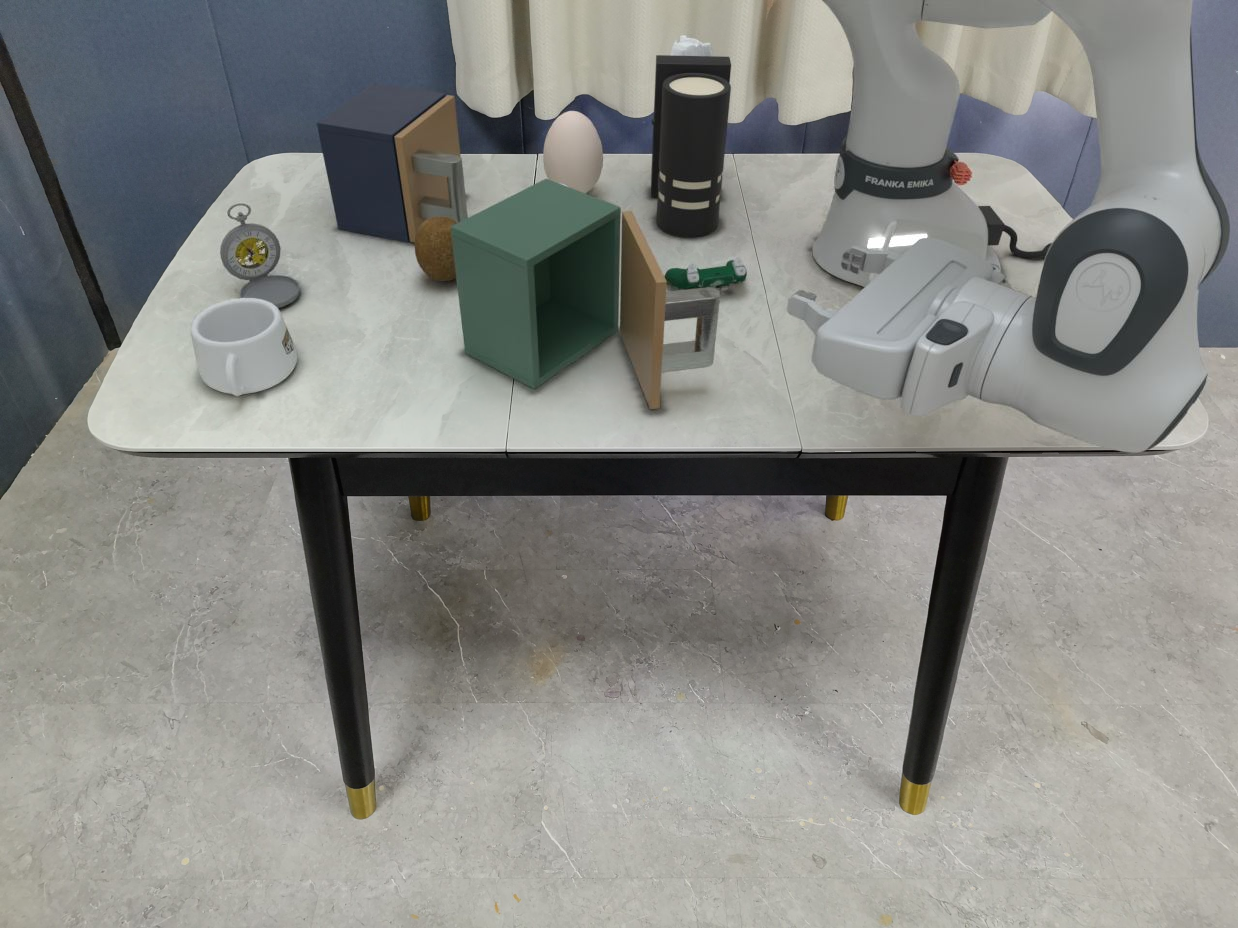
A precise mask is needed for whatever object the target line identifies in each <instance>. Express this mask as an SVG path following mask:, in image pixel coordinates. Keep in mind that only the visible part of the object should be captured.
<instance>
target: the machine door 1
mask: <svg viewBox="0 0 1238 928" xmlns="http://www.w3.org/2000/svg"><path fill="white" fill-rule="evenodd" d="M457 117H458V116H457V107H456V98H455V95H449V94H447V95H446V97H444V98H443V99H442V100H441V101H439V102H438V103H437V104H435V105H434V106H433V107H432V108H430V109H429V110H428V111H427V112H425V113H424V114H423V115H421V116H420V117H419V118H418V119H416V120H415V121H414V122H412V123H411V124H410V125H409V126H407V127H406V128H405V129H404V130H402V131H401V132H400V133H398V134H397V135H396V136H395V137H394V138H395V144H396V151H397V158H398V164H399V171H400V178H401V184H402V191H403V198H404V204H405V211H406V218H407V224H408V231H409V238H410V241H409V242H410V243H414V242H415V235H416V233H417V230H418V229H419V227H420V226H421V224H422V223H423V222H424V221H425V220H427V219H429V218H433V217H440V216H441V217H448V218H451V219H453V220H454V221H455V222H456V223H459V222H461V221H463V220H465V219H467V218H469V217H468V216H469V215H468V206H467V196H466V187H465V176H464V167H463V158H462V157H461V146H460V137H459V128H458V127H459V125H458V118H457Z"/></svg>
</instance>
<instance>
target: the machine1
mask: <svg viewBox="0 0 1238 928" xmlns="http://www.w3.org/2000/svg"><path fill="white" fill-rule="evenodd" d="M446 96H447V95H446V93H444V92H438V91H432V90H425V89H418V88H411V87H404V86H397V85H391V84H383V83H377V82H375V83H373V84H372V85H370V86H369V87H366V89H364V90H362V91H361V92H360V93H358V94H357V95H356V96H354V97H352V98H351V99H350V100H348V101H346V102H345V103H344V104H342V105H341V106H339V107H337V108H336V109H335V110H333V111H332V112H330V113H329V114H327V115H326V116H325V117H323V118H321V119H320V120H319V121H317V122H316V127H317V133H318V138H319V142H320V148H321V151H322V156H323V163H324V165H325V166H324V167H325V172H326V176H327V181H328V186H329V191H330V195H331V200H332V205H333V210H334V215H335V219H336V224H337V229H338V230H341V231H345V232H350V233H351V232H352V233H356V234H360V235H361V234H362V235H368V236H372V237H378V238H383V239H387V240H393V241H398V242H403V243H409V242H410V238H409V231H408V224H407V218H406V211H405V204H404V198H403V191H402V184H401V178H400V171H399V164H398V158H397V151H396V144H395V138H394V137H395V136H396V135H397V134H398V133H400V132H401V131H402V130H404V129H405V128H406V127H407V126H409V125H410V124H411V123H412V122H414V121H415V120H416V119H418V118H419V117H420V116H421V115H423V114H424V113H425V112H427V111H428V110H429V109H430V108H432V107H433V106H434V105H435V104H437V103H438V102H439V101H441V100H442V99H443V98H444V97H446Z"/></svg>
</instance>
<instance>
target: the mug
mask: <svg viewBox="0 0 1238 928" xmlns="http://www.w3.org/2000/svg"><path fill="white" fill-rule="evenodd" d="M189 332H190V336H191V342H192V347H193V350H194V356H195V357H194V358H195V363H196V366H197V371H198V373H199V375H200V377H201V380H202V381H203V382H204V383H205V384H206V385H207V386H208V387H210V388H212V389H213V390H215V391H218V392H220V393H225V394H229V395H233V396H235V397H239V396H241V395H245V394H246V395H247V394H252V393H253V394H254V393H257V392H262V391H265V390H269V389H270V388H272V387H274V386H276V385H278V384H280V383H281V382H283V381H284V380H285V379H287V378H288V377H289V375H291V373H292V372H293V370H294V369H295V367H296V364H297V362H298V354H297V348H296V345H295V343H294V341H293V338H292V336H291V333H290V331H289V329H288V327H287V324H286V321H285V319H284V317H283V314H282V313H281V311H280V309H279V308H277V307H276V306H275V305H274V304H272V303H271V302H268V301H265V300H262V299H256V298H240V297H238V298H231V299H226V300H223V301H219V302H217V303H215V304H212V305H209V306H208V307H206V308H205V309H203V310H201V311H200V312H199V313H197V315H196V316H194V318H193V320H192V322H191V323H190V331H189Z"/></svg>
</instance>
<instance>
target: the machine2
mask: <svg viewBox="0 0 1238 928" xmlns="http://www.w3.org/2000/svg"><path fill="white" fill-rule="evenodd" d="M621 208H622V207H621V206H619V205H616V204H613V203H611V202H608V201H605V200H604V199H601V198H598V197H595V196H593V195H590V194H588V193H586V194H585V193H583V192H580V191H577V190H575V189H572V188H570V187H567V186H564V185H562V184H559V183H557V182H554V181H551V180H549V179H548V178H544V179H542V180H540V181H538V182H536V183H534V184H533V185H530V186H528V187H527V188H525V189H522V190H521V191H519V192H517V193H515V194H513V195H509V197H507V198H505V199H503V200H501V201H499V202H497V203H495V204H493V205H490V206H488V207H487V208H485V209H483V210H481V211H478V212H476V213H475V214H472V215H470V216H469V217H468V218H467V219H465V220H463V221H461V222H459V223H457V224H455V225H453V226H451V235H452V244H453V253H454V261H455V270H456V278H455V279H456V286H457V295H458V304H459V310H460V311H459V313H460V321H461V330H462V337H463V346H464V347H463V348H464V353H465V354H466V355H468V356H469V357H471V358H474V359H475V360H477V361H480V362H481V363H483V364H485V365H487V366H489V367H491V368H493V369H494V370H497V371H498V372H500V373H502V374H504V375H506V376H508V377H510V378H512V379H514V380H515V381H517V382H519V383H521V384H523V385H525V386H527V387H529V388H531V389H533V390H535V389H537V388H539V387H540V386H541V385H543V384H544V383H546V382H548V381H549V380H550V379H551V378H553V377H554V376H556V375H558V374H559V373H561V371H563V370H564V369H566V368H567V367H569V366H570V365H571V364H573V363H574V362H576V361H577V360H579V359H580V358H582V357H583V356H585V355H586V354H588V353H590V351H592V350H593V349H594V348H596V347H597V346H599V345H600V344H602V343H604V342H605V341H606V340H607V339H609V338H610V337H612V336H613V335H615V334H616V333H617V332H619V323H620V270H621V216H622V212H621V211H622V209H621Z"/></svg>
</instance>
